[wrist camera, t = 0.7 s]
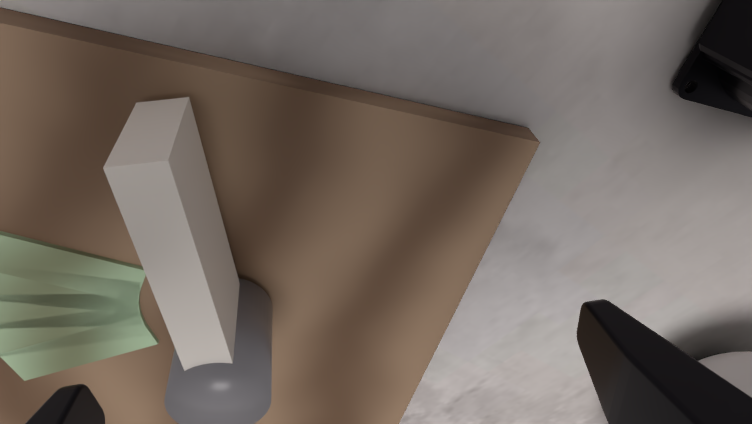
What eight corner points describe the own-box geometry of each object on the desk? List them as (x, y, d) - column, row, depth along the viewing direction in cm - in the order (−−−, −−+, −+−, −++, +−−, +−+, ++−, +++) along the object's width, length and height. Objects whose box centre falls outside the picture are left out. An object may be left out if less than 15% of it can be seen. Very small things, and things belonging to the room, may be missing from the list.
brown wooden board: (528, 128, 22) (542, 144, 21) (381, 433, 32) (384, 455, 31) (-67, -8, 16) (-94, 5, 15) (-13, 414, 27) (-26, 440, 25)
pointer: (279, 333, 24) (278, 424, 20) (195, 345, 24) (180, 439, 20) (222, 89, 18) (207, 159, 14) (105, 102, 17) (59, 177, 14)
